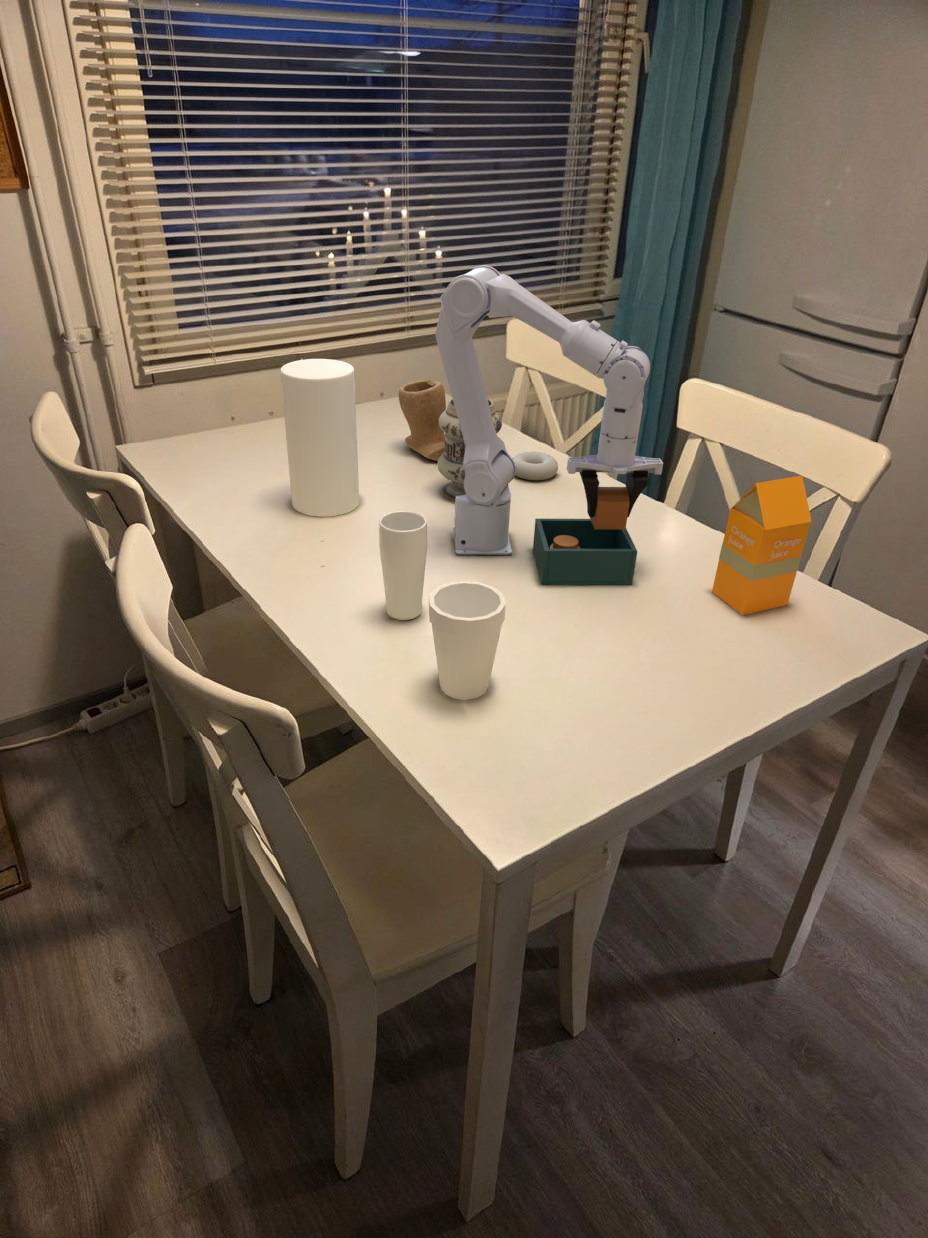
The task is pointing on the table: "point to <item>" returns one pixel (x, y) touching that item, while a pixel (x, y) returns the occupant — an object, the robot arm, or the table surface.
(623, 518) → the square bread
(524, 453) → the donut
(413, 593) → the drinking glass
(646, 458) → the robot arm
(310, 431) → the cylinder
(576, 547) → the round bread
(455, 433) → the apothecary jar
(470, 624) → the foam cup
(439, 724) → the table surface
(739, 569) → the orange juice
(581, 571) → the dark green open box
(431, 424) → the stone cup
